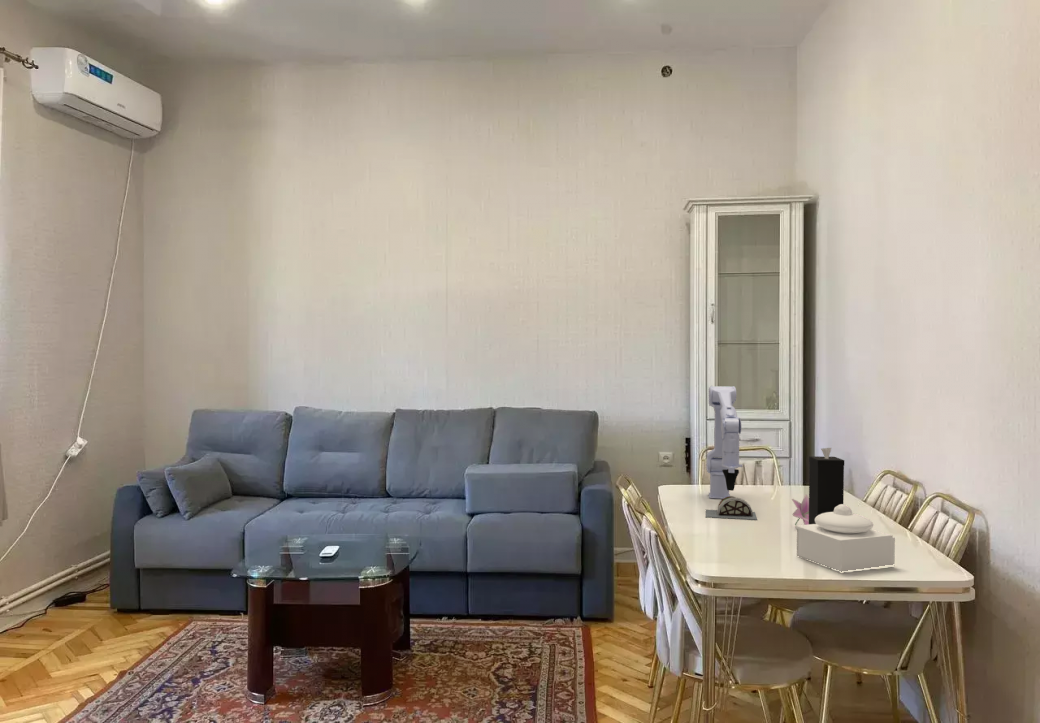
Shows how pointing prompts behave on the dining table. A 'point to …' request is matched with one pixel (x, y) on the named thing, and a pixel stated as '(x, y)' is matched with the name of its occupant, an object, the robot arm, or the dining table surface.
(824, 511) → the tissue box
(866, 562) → the butter dish
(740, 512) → the food container
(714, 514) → the mat
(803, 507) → the lily
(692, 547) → the dining table surface
